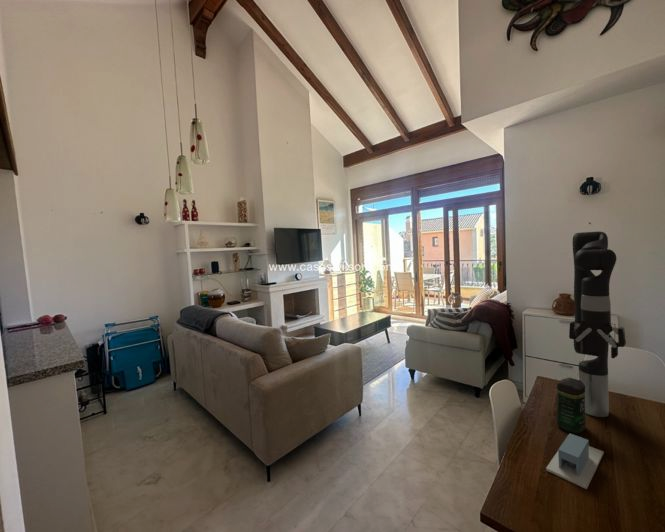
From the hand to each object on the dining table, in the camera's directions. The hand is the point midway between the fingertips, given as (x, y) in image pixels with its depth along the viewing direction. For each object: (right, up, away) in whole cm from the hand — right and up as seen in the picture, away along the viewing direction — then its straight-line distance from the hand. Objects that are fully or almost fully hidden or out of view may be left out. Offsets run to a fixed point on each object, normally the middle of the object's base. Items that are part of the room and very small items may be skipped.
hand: (596, 354), depth 101 cm
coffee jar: (+2, -32, +13) cm, 35 cm away
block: (-12, -33, -6) cm, 36 cm away
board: (-11, -34, -4) cm, 36 cm away
